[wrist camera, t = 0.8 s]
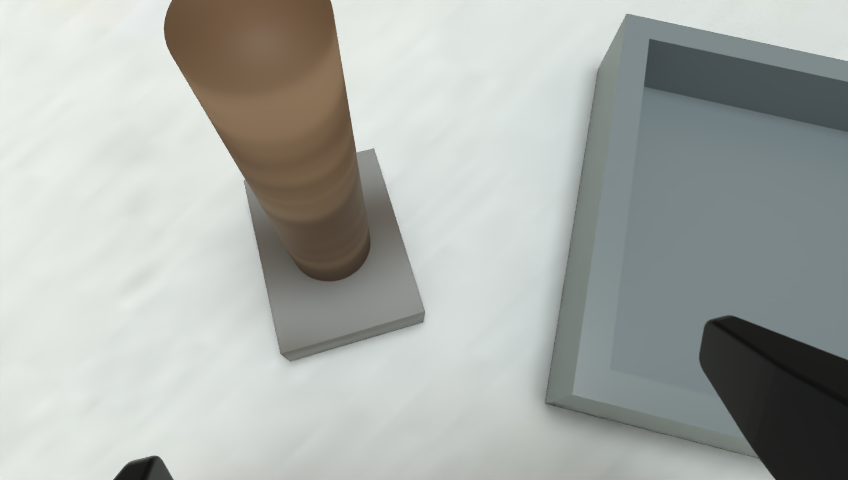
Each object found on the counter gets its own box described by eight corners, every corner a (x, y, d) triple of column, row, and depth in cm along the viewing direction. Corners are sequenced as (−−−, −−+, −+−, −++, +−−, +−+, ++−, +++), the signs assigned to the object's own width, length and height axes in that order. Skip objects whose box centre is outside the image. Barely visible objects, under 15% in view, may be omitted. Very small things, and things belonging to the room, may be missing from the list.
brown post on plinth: (423, 321, 24) (449, 148, 10) (290, 361, 23) (118, 233, 9) (376, 169, 27) (344, -136, 13) (255, 199, 26) (80, -90, 12)
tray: (979, 515, 22) (1097, 529, 18) (545, 403, 23) (572, 394, 19) (936, 143, 28) (1017, 97, 25) (598, 68, 29) (626, 13, 26)
